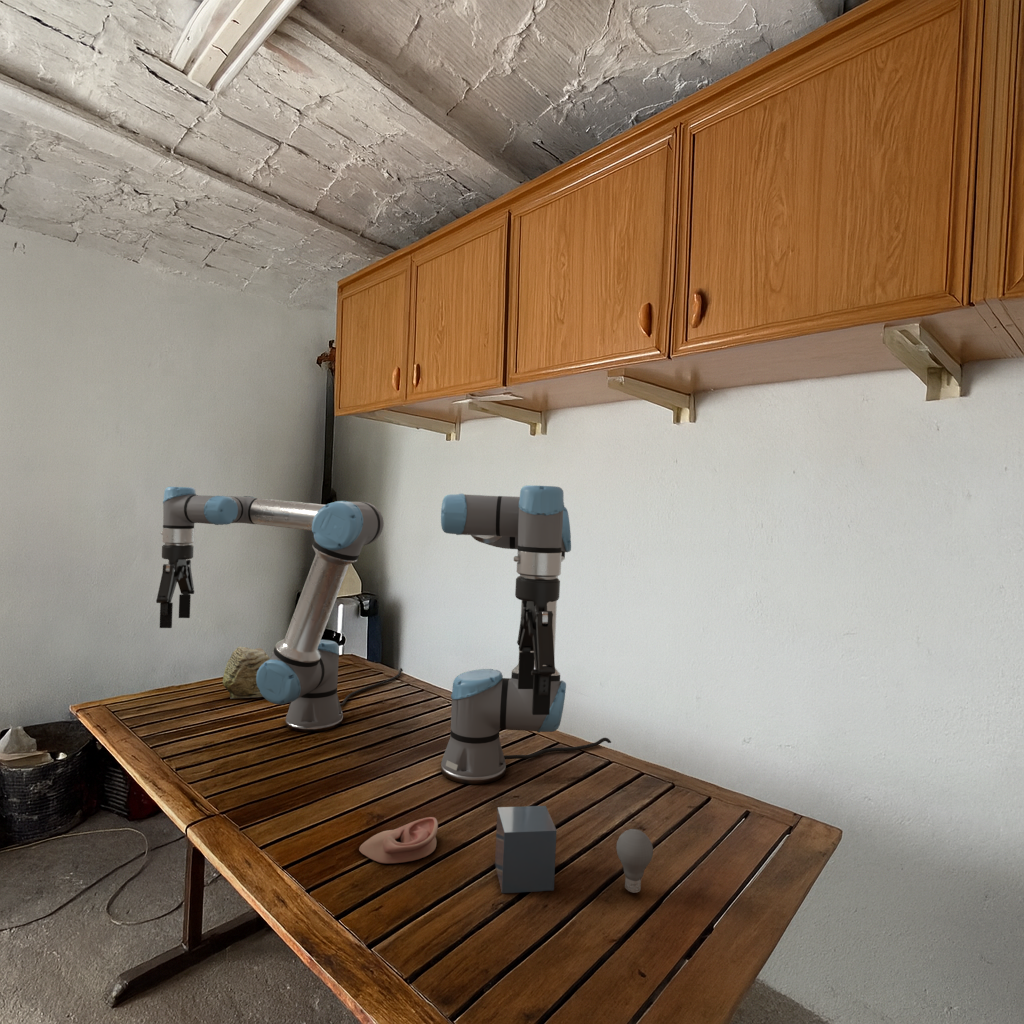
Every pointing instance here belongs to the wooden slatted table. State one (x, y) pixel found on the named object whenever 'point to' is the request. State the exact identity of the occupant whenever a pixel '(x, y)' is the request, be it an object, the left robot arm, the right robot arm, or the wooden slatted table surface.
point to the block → (525, 849)
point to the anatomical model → (403, 842)
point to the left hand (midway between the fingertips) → (175, 622)
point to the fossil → (244, 672)
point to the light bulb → (634, 857)
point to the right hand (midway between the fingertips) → (532, 700)
